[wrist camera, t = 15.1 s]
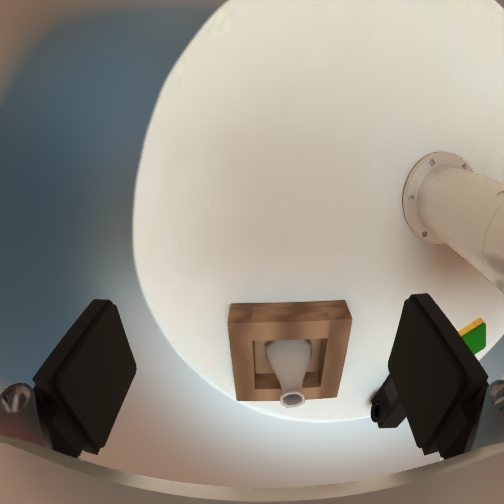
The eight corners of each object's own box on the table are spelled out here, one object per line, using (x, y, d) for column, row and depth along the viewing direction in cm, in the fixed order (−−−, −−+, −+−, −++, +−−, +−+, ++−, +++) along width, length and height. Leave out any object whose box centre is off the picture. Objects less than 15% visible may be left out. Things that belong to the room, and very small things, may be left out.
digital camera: (390, 363, 46) (402, 392, 40) (413, 365, 47) (426, 392, 40) (365, 401, 51) (373, 428, 44) (388, 401, 51) (397, 428, 44)
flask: (256, 341, 43) (253, 392, 34) (301, 323, 42) (309, 374, 33) (276, 371, 46) (278, 421, 37) (319, 356, 44) (328, 405, 35)
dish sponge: (418, 352, 46) (423, 361, 44) (479, 315, 43) (485, 323, 40) (423, 373, 48) (427, 382, 46) (480, 340, 45) (485, 347, 43)
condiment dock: (345, 300, 41) (352, 318, 37) (332, 377, 48) (336, 397, 44) (231, 303, 42) (227, 322, 38) (238, 381, 48) (236, 400, 44)
